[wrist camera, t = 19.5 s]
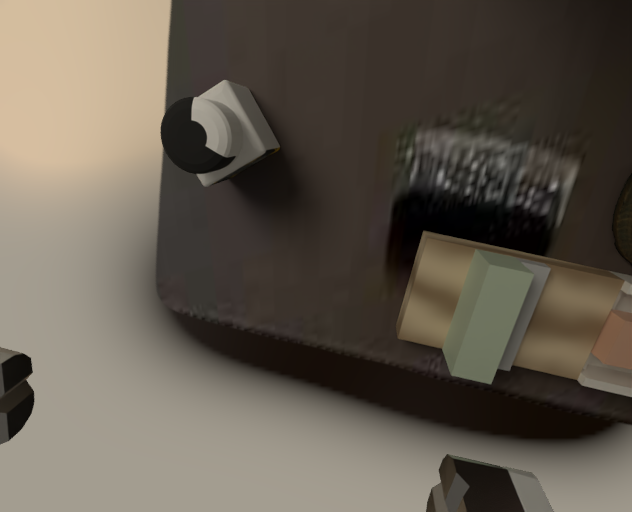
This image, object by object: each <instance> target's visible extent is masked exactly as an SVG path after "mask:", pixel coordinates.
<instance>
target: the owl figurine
mask: <svg viewBox="0 0 632 512" xmlns="http://www.w3.org/2000/svg"><path fill="white" fill-rule="evenodd" d="M612 231H613V232H614V237H615V238H616V242H615V243H614V244H615V246H616V249H617V250H618V252H619V253H620V254H621V255H622V257H624V258H625V259H626V260H628V261H629V262H630V263H632V174H631V175H630V177H629V178H628V180H627V182H626V184H625V186H624V188H623V190H622V191H621V194H620V197H619V199H618V202H617V205H616V208H615V211H614V216H613V225H612Z"/></svg>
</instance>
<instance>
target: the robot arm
mask: <svg viewBox="0 0 632 512" xmlns="http://www.w3.org/2000/svg"><path fill="white" fill-rule="evenodd" d="M32 373H33V371H32V363H31V358H30V357H28V356H27V355H25V354H23V353H19V352H16V351H12V350H8V349H4V348H1V347H0V444H2V443H5V442H7V441H9V440H10V439H11V438H13V437H14V436H15V435H16V434H17V433H18V432H19V431H20V430H21V429H22V428H23V426H24V425H25V423H26V421H27V420H28V418H29V417H30V415H31V413H32V409H33V405H34V391H33V389H32V388H31V386H30V385H29V384H28V382H27V381H26V379H27V378H28V377H29V376H30V375H31V374H32ZM439 473H440V479H441V483H440V484H438V485H436V486H435V487H433V488H432V489H431V493H430V496H429V499H428V502H427V509H426V512H554V511H553V509H552V507H551V505H550V503H549V501H548V499H547V497H546V495H545V493H544V491H543V489H542V487H541V485H540V483H539V481H538V479H537V478H536V477H535V476H534V475H533V474H532V473H531V472H526V471H522V470H517V469H512V468H508V467H500V466H497V465H492V464H488V463H484V462H479V461H475V460H471V459H466V458H462V457H458V456H453V455H449V454H447V455H446V456H445V458H444V459H443V460H442V463H441V466H440V468H439Z"/></svg>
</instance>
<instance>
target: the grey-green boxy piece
mask: <svg viewBox="0 0 632 512" xmlns="http://www.w3.org/2000/svg"><path fill="white" fill-rule="evenodd" d="M550 270H551V268H550V267H549V266H547V265H546V264H545V263H540V262H535V261H530V260H526V259H521V258H516V257H512V256H507V255H502V254H498V253H493V252H488V251H483V250H479V249H475V252H474V255H473V258H472V261H471V264H470V267H469V270H468V273H467V276H466V279H465V282H464V285H463V288H462V291H461V294H460V297H459V300H458V303H457V306H456V309H455V312H454V315H453V318H452V321H451V324H450V327H449V330H448V333H447V336H446V339H445V342H444V345H443V348H442V350H443V353H444V356H445V359H446V362H447V365H448V368H449V370H450V373H451V375H452V376H457V377H461V378H465V379H470V380H474V381H478V382H483V383H487V384H491V383H492V381H493V378H494V376H495V373H496V371H497V368H498V369H502V370H506V371H510V369H511V366H512V364H513V361H514V359H515V356H516V354H517V351H518V349H519V346H520V344H521V341H522V339H523V336H524V334H525V332H526V329H527V327H528V324H529V322H530V319H531V317H532V314H533V312H534V309H535V307H536V304H537V302H538V299H539V297H540V294H541V292H542V290H543V287H544V285H545V282H546V280H547V277H548V275H549V272H550Z"/></svg>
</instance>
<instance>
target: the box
mask: <svg viewBox="0 0 632 512" xmlns="http://www.w3.org/2000/svg"><path fill="white" fill-rule="evenodd" d="M609 272H611V273H613V274H614V275H616V276H618V277H620V278H621V279H623V280H625V282H624V284H623V286H622V288H621V290H620V292H619V294H618V296H617V298H616V300H615V302H614V305H613V307H612V309H615V310H619V311H624V312H629V313H632V276H630V275H626V274H621V273H617V272H612V271H609ZM578 381H579V383H580V384H581V385H582V386H586V387H590V388H595V389H599V390H603V391H608V392H612V393H616V394H621V395H625V396H629V397H632V370H631V369H626V368H621V367H616V366H611V365H606V364H603V363H602V362H601V361H600V360H599V359H598V358H597V357H595V356H594V355H593V354H592V353H591V352H590V355H589V357H588V359H587V361H586V363H585V365H584V367H583V369H582V371H581V373H580V375H579V378H578Z"/></svg>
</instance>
